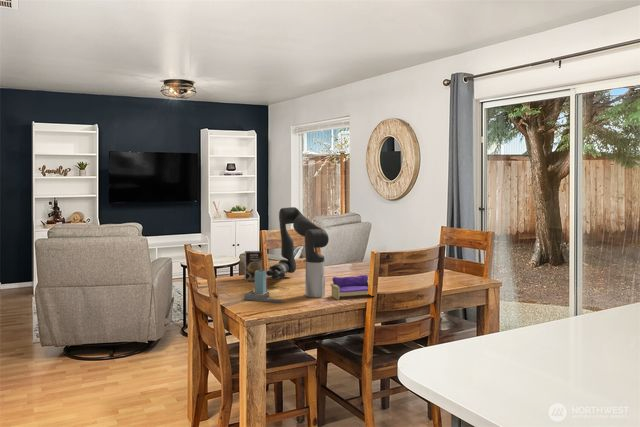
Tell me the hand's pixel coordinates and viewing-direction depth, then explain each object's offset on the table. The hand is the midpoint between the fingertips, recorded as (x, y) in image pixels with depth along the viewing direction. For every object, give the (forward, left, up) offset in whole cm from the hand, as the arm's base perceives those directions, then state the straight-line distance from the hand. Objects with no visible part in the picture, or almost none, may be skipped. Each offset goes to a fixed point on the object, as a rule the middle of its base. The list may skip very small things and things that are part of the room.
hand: (267, 276), depth 286 cm
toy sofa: (-47, +4, -7) cm, 47 cm away
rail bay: (-8, +23, -7) cm, 25 cm away
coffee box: (+16, -20, -7) cm, 26 cm away
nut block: (0, +10, -7) cm, 12 cm away
